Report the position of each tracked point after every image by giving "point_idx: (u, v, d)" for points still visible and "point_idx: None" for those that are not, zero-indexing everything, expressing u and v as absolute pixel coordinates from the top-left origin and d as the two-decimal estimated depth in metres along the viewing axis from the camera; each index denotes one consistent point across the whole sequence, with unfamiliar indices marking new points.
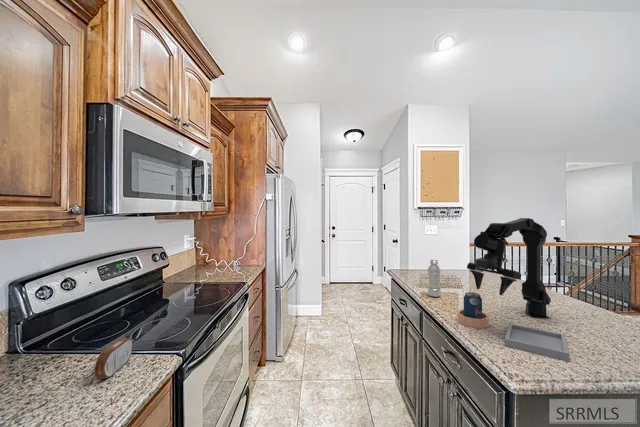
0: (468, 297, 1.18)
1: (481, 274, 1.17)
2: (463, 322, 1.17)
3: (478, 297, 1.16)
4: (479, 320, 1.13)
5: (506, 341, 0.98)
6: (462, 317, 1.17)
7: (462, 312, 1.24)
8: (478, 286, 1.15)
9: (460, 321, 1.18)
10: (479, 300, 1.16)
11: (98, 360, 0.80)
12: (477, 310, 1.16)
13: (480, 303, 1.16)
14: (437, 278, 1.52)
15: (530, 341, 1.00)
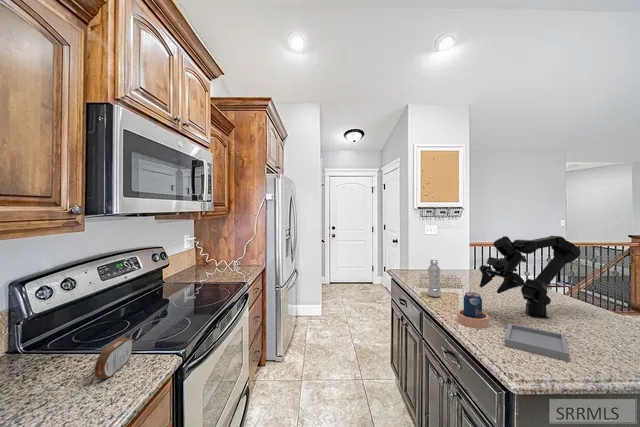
0: (468, 297, 1.18)
1: (489, 278, 1.27)
2: (463, 322, 1.17)
3: (478, 297, 1.16)
4: (479, 320, 1.13)
5: (506, 341, 0.98)
6: (462, 317, 1.17)
7: (462, 312, 1.24)
8: (482, 284, 1.25)
9: (460, 321, 1.18)
10: (479, 300, 1.16)
11: (98, 360, 0.80)
12: (477, 310, 1.16)
13: (480, 303, 1.16)
14: (437, 278, 1.52)
15: (530, 341, 1.00)
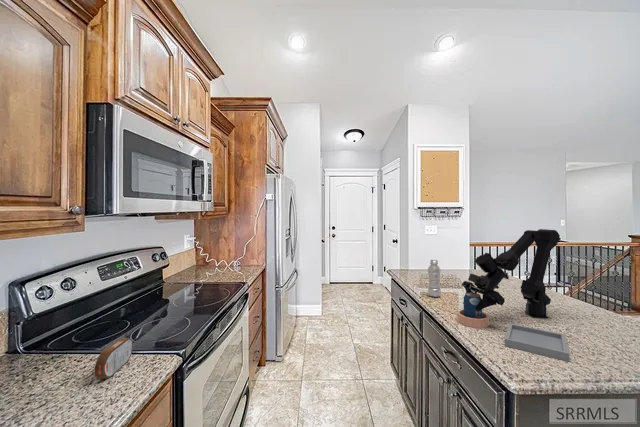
0: (468, 297, 1.18)
1: None
2: (463, 322, 1.17)
3: (478, 297, 1.16)
4: (479, 320, 1.13)
5: (506, 341, 0.98)
6: (462, 317, 1.17)
7: (462, 312, 1.24)
8: None
9: (460, 321, 1.18)
10: (479, 300, 1.16)
11: (98, 360, 0.80)
12: None
13: None
14: (437, 278, 1.52)
15: (530, 341, 1.00)
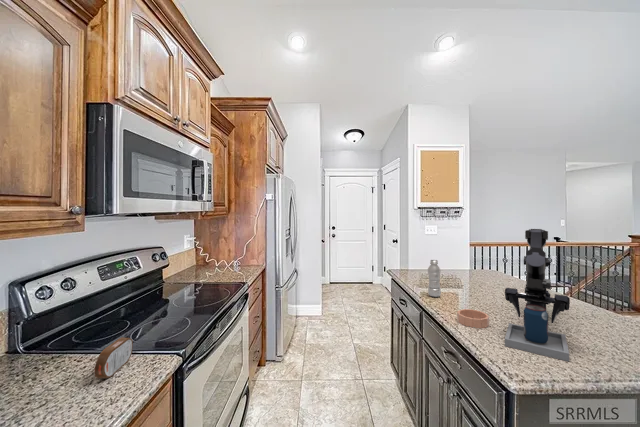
0: (538, 312, 0.97)
1: None
2: (463, 322, 1.17)
3: (545, 309, 0.99)
4: (479, 320, 1.13)
5: (506, 341, 0.98)
6: (462, 317, 1.17)
7: (462, 312, 1.24)
8: None
9: (460, 321, 1.18)
10: (547, 313, 0.98)
11: (98, 360, 0.80)
12: (547, 326, 0.98)
13: None
14: (437, 278, 1.52)
15: None
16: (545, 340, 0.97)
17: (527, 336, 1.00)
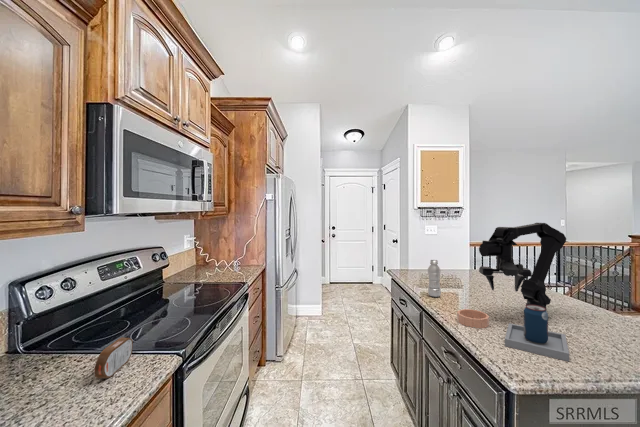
0: (538, 312, 0.97)
1: None
2: (463, 322, 1.17)
3: (545, 309, 0.99)
4: (479, 320, 1.13)
5: (506, 341, 0.98)
6: (462, 317, 1.17)
7: (462, 312, 1.24)
8: None
9: (460, 321, 1.18)
10: (547, 313, 0.98)
11: (98, 360, 0.80)
12: (547, 326, 0.98)
13: None
14: (437, 278, 1.52)
15: None
16: (545, 340, 0.97)
17: (527, 336, 1.00)
